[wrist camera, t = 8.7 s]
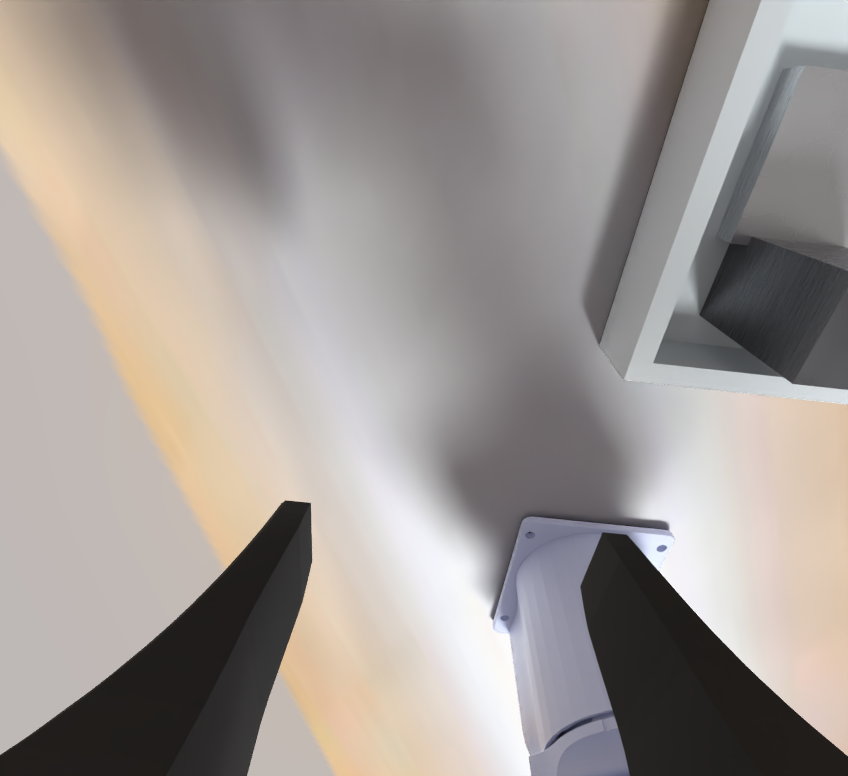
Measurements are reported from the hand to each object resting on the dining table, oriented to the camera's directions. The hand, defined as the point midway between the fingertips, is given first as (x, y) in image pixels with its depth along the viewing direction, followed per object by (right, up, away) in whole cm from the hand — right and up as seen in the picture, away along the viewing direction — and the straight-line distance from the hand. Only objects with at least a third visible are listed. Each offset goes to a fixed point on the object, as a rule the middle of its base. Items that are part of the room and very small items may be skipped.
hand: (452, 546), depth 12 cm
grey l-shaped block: (+12, +10, +5) cm, 16 cm away
